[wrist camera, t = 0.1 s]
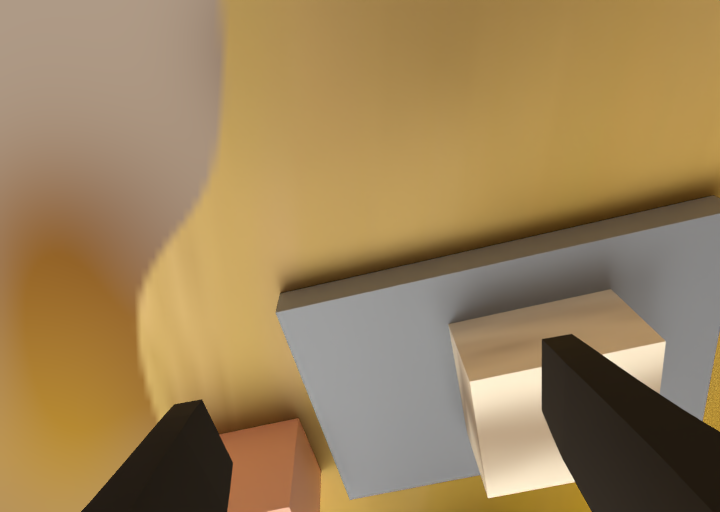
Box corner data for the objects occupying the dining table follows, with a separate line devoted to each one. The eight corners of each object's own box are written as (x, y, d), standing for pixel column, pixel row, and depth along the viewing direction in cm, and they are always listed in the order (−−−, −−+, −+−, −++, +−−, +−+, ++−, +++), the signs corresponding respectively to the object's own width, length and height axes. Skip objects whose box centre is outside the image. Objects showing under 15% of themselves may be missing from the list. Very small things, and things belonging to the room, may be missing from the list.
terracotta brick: (321, 470, 25) (317, 562, 21) (223, 489, 26) (199, 584, 21) (298, 416, 23) (289, 507, 19) (192, 438, 24) (159, 532, 19)
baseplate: (680, 410, 24) (700, 432, 23) (349, 475, 26) (349, 499, 24) (713, 195, 18) (742, 208, 17) (279, 293, 20) (275, 312, 18)
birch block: (606, 405, 22) (651, 467, 19) (466, 432, 22) (488, 498, 19) (611, 289, 18) (665, 341, 15) (448, 324, 19) (469, 381, 16)
